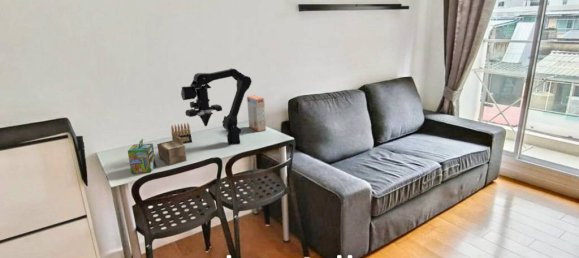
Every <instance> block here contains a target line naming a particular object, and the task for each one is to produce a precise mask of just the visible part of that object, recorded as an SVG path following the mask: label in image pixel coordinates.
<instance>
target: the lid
mask: <svg viewBox="0 0 579 258" xmlns="http://www.w3.org/2000/svg"><path fill="white" fill-rule="evenodd" d="M173 139H174V141H172V140H171V141H172V142H168V141H167V142H168V143H164V142H163V143H164V144H161V146H163V147H165V148H166V149H171V148H175V147H179V146H183V145H184V144H183V139H182V138H181V137H179V136H177V135H173Z"/></svg>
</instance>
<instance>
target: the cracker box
mask: <svg viewBox="0 0 579 258" xmlns="http://www.w3.org/2000/svg"><path fill="white" fill-rule="evenodd" d="M246 99H247V100H246V101H247V115H248V127H249V128H250V129H253V130H254V131H256V132H258V133H259V132H265V131H266V129H267V127H266V109H265V98H264V97H261V96H258V95H255V94H254V95H247V96H246Z"/></svg>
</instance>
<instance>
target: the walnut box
mask: <svg viewBox="0 0 579 258" xmlns="http://www.w3.org/2000/svg"><path fill="white" fill-rule="evenodd" d="M172 141H174V140H172V139H171V140H169V141H165V142H160V143H156V145H157V153H158V158H159V160H160V161H161V162H164V164H166V165H168V166H169V167H170V166H173V165H176V164H181V163H183V162H187V154H186V146H185V144H183V146H179V147H175V148H171V149H166V148H165V147H163V146H161V144H164V143H168V142H172Z"/></svg>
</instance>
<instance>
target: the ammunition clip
mask: <svg viewBox="0 0 579 258" xmlns="http://www.w3.org/2000/svg"><path fill="white" fill-rule="evenodd" d="M170 127H171V141H172V140H174V139H173V135H177V136H179V137H181V138H182V139H183V145H185V144H191V143H193V138H192V132H191V127H190V124H189V122H187V123H186V122H184V123H181V124H179V123H178V124H177V125H176V124H174V125H173V124H172V125H171V126H170Z"/></svg>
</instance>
